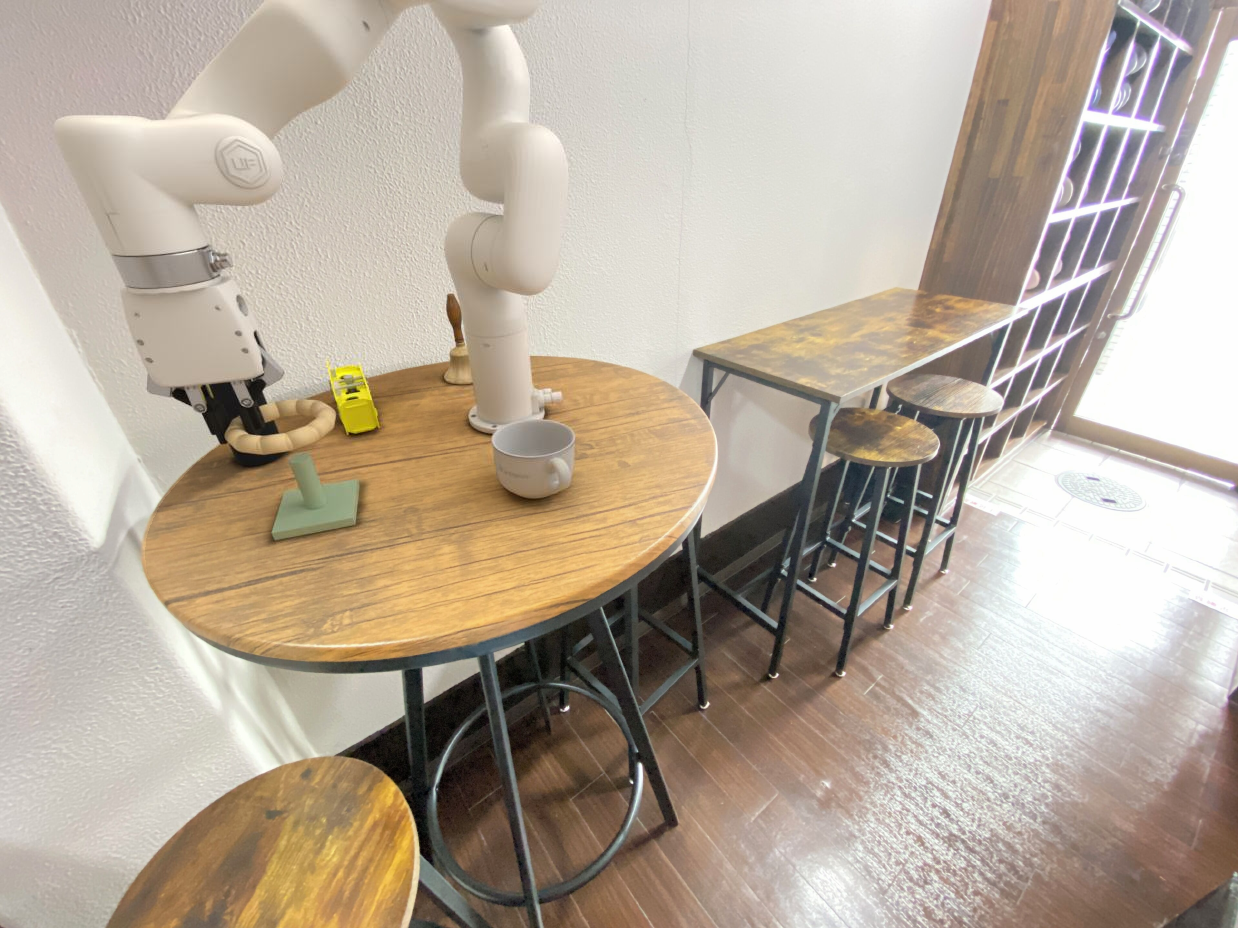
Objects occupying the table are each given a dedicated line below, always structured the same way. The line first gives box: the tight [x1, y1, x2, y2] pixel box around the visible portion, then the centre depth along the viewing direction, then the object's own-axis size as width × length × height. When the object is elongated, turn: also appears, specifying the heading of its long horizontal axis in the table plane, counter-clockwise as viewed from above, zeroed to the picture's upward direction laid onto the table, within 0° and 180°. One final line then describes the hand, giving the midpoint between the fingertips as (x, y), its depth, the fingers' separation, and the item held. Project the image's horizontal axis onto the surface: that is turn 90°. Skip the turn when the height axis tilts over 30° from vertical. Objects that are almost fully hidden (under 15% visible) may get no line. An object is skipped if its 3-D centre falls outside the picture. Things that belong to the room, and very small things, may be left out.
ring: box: [225, 398, 337, 455], centre depth 62 cm, size 11×11×2 cm
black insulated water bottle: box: [209, 378, 285, 467], centre depth 72 cm, size 6×6×30 cm
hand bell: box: [443, 293, 473, 386], centre depth 101 cm, size 8×8×16 cm
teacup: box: [490, 418, 576, 500], centre depth 70 cm, size 14×11×8 cm
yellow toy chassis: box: [325, 359, 381, 436], centre depth 89 cm, size 16×6×8 cm, turn 29°
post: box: [271, 452, 360, 541], centre depth 67 cm, size 9×9×8 cm
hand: (241, 435), depth 61 cm, fingers closed on ring, 2 cm apart
